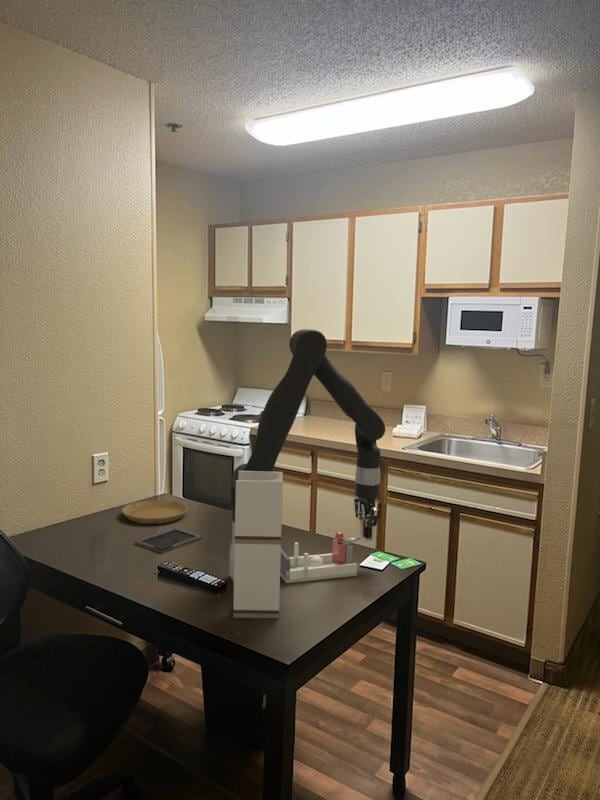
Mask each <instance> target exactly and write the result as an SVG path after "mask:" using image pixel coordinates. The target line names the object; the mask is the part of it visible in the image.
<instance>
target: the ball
mask: <svg viewBox="0 0 600 800" xmlns="http://www.w3.org/2000/svg"><path fill="white" fill-rule="evenodd" d="M310 566H311V567H321V566H323V560H322V558H321V557H319V556H314V557H313V558H312V559H311V560H310Z"/></svg>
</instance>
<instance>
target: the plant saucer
mask: <svg viewBox="0 0 600 800" xmlns="http://www.w3.org/2000/svg"><path fill="white" fill-rule="evenodd" d="M121 511H122V514H123V515H124V516H125V518H127V519H128V520H129V521H131V522H134V523H137V524H143V525H158V524H159V525H160V524H168V523H171V522H175V521H178V520H179V519H181V518H182V517H183V516H184V515H185V514H186V513H187V511H188V506H187V505H186V504H184V503H182V502H178V501H175V500H165V499H164V500H163V499H153V500H152V499H150V500H142V501H135V502H132V503H129V504H127V505H125V506H123V507H122V509H121Z"/></svg>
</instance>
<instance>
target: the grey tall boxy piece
mask: <svg viewBox="0 0 600 800" xmlns="http://www.w3.org/2000/svg"><path fill="white" fill-rule="evenodd" d="M283 473H284V472H283V471H273V472H270V471H239V477H238V480H236V504H235V553H234V583H233V609H232V611H233V612H232V613H233V614H232V618H235V619H236V618H237V619H238V618H241V619H242V618H243V619H279V618H280V596H281V595H280V593H281V592H280V591H281V590H280V589H281V588H280V587H281V576H280V561H281V549H282V522H283V521H282V520H283V491H284V490H283V487H284V485H283V484H284V479H283V477H284V476H283V475H284V474H283Z"/></svg>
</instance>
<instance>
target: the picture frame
mask: <svg viewBox="0 0 600 800" xmlns="http://www.w3.org/2000/svg"><path fill="white" fill-rule="evenodd" d="M203 538H204V537H203V535H200V534H197V533H194V532H192V531H191V532H190V531H188V530H183V529H181V528H178V527H174V528H171V529H167V530H165V531H162V532H158V533H156V534H153V535H150V536H149V535H148V536H146V537H144V538H140V539H137V540H134V545H136V546H139V547H142V548H145V549H147V550H149V551H150V550H151V551H153V552H157V553H159V554H164V553H168V552H170V551H173V550H176V549H179V548H181V547H184V546H187V545H190V544H193V543H195V542H198V541H201V540H203Z"/></svg>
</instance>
